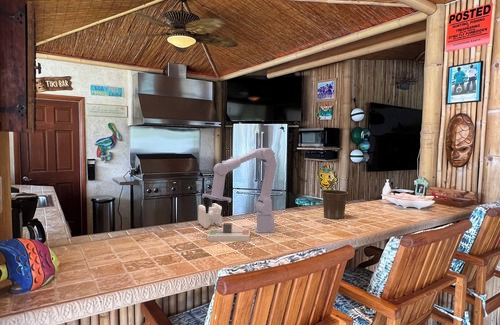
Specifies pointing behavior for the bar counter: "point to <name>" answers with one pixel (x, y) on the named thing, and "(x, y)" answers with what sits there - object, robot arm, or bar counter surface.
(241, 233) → the switch plate
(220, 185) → the robot arm
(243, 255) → the bar counter surface
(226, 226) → the knob
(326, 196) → the plant pot
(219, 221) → the cable organizer
